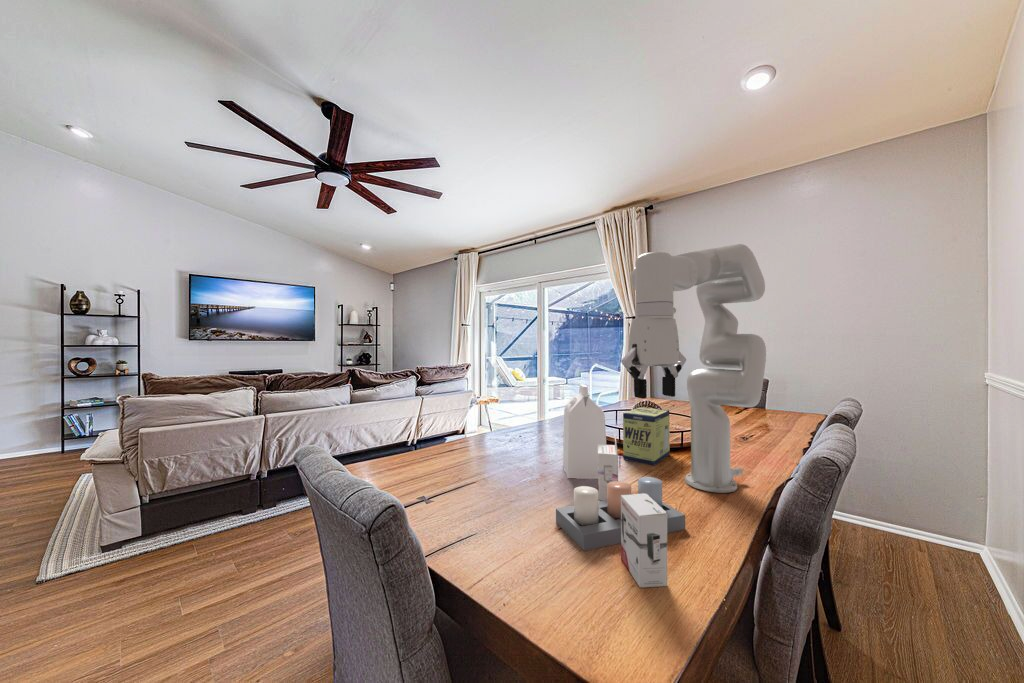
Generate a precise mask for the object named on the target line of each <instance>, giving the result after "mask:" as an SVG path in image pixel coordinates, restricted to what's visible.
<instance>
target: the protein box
mask: <svg viewBox="0 0 1024 683" xmlns="http://www.w3.org/2000/svg"><path fill="white" fill-rule="evenodd" d="M622 414H623V415H622V423H623V424H622V425H623V426H622V432H623V433H622V434H623V438H622V439H623V440H622V442H623V443H622V444H623V445H622V447H623V448H622V450H623V451H622V452H623V457H622V459H623V460H625V461H629V462H634V463H639V464H643V465H649V466H656V465H657V464H659V463H660V462H661V461H663V460H664V459H667V457H669V456H670V451H671V450H670V438H671V437H670V410H669V409H661V408H653V407H652V408H651V407H643V406H640V407H637V408H634V409H632V410H629V411H626V412H623V413H622Z"/></svg>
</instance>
